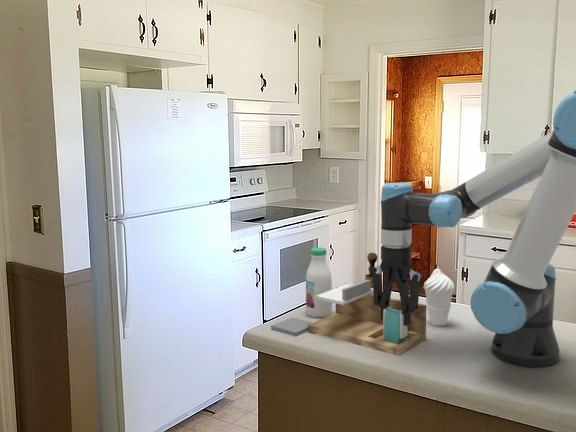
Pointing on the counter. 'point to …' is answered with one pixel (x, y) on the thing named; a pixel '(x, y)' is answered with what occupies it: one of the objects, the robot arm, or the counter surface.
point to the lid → (347, 293)
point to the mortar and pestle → (372, 259)
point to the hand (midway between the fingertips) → (395, 334)
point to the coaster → (292, 326)
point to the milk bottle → (318, 284)
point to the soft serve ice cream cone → (438, 297)
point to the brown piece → (370, 325)
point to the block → (392, 327)
